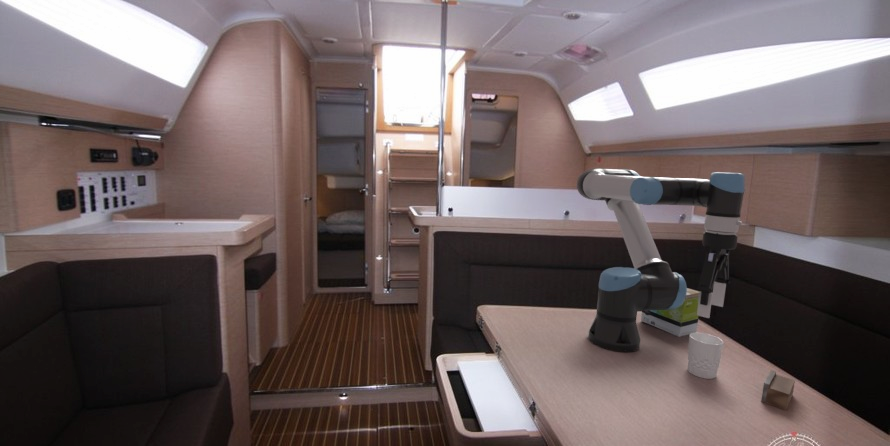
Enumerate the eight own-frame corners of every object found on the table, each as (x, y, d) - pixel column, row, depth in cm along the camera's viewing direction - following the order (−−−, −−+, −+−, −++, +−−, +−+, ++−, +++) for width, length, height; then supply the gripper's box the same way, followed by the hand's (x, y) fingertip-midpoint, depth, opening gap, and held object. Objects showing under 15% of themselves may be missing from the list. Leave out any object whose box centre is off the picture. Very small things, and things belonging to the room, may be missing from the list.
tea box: (639, 322, 152) (643, 282, 149) (657, 318, 156) (661, 279, 154) (679, 337, 138) (684, 294, 136) (697, 333, 143) (703, 291, 141)
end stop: (761, 401, 101) (764, 382, 100) (768, 387, 108) (771, 369, 107) (786, 410, 98) (789, 391, 97) (792, 395, 105) (795, 377, 104)
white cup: (724, 382, 110) (729, 346, 109) (691, 378, 111) (695, 342, 110) (711, 368, 118) (716, 334, 116) (680, 364, 119) (685, 331, 118)
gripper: (725, 239, 98) (714, 326, 101) (748, 230, 115) (737, 304, 118) (689, 234, 103) (679, 317, 106) (716, 226, 120) (707, 298, 123)
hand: (710, 310), depth 112 cm, fingers open, 13 cm apart
